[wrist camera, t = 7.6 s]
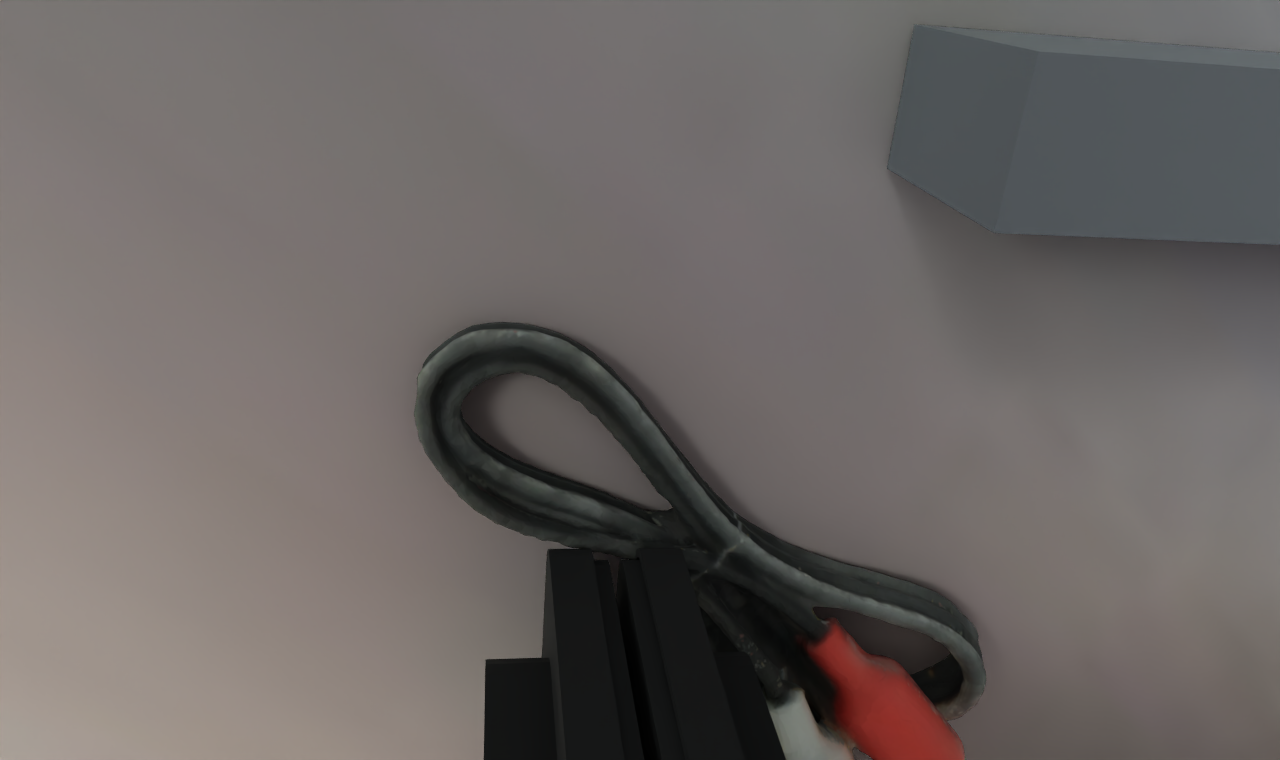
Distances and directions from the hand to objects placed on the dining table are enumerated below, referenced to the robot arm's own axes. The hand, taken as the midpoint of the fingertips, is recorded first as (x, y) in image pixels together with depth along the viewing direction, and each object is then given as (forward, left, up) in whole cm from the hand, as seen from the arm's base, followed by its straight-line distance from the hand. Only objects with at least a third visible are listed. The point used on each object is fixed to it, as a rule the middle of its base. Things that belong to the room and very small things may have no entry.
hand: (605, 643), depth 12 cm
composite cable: (0, +2, -1) cm, 2 cm away
